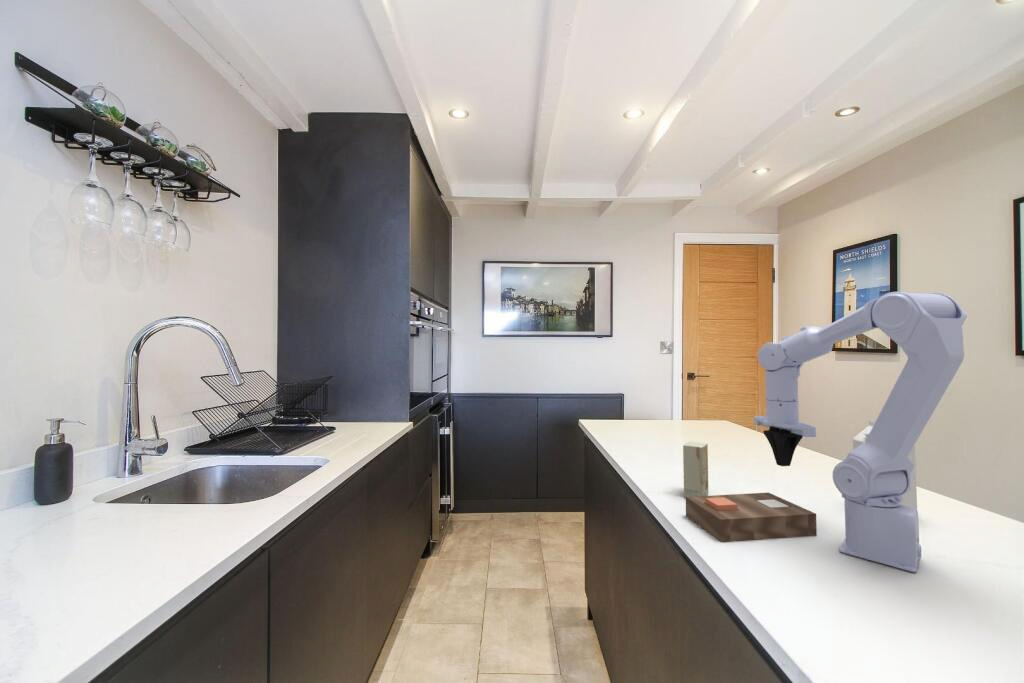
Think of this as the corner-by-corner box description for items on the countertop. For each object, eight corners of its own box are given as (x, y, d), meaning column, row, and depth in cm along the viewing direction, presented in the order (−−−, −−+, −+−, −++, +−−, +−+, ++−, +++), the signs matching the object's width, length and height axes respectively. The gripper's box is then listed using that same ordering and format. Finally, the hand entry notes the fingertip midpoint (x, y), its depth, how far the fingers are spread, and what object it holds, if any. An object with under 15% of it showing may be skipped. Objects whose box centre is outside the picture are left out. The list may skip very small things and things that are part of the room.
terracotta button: (724, 517, 84) (724, 497, 84) (737, 525, 80) (737, 504, 80) (706, 518, 83) (705, 498, 83) (718, 526, 79) (717, 505, 79)
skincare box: (703, 501, 96) (701, 447, 96) (683, 497, 98) (682, 445, 99) (709, 493, 101) (708, 442, 101) (690, 490, 104) (689, 440, 104)
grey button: (774, 519, 85) (774, 499, 85) (789, 527, 81) (789, 506, 81) (756, 520, 85) (756, 500, 85) (771, 528, 81) (770, 507, 81)
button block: (769, 511, 89) (768, 492, 89) (816, 535, 77) (816, 513, 78) (685, 516, 87) (685, 496, 87) (721, 542, 75) (721, 519, 75)
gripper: (741, 397, 94) (742, 457, 94) (791, 404, 80) (793, 476, 80) (769, 396, 95) (771, 456, 95) (824, 403, 81) (826, 474, 80)
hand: (783, 465), depth 87 cm, fingers closed
